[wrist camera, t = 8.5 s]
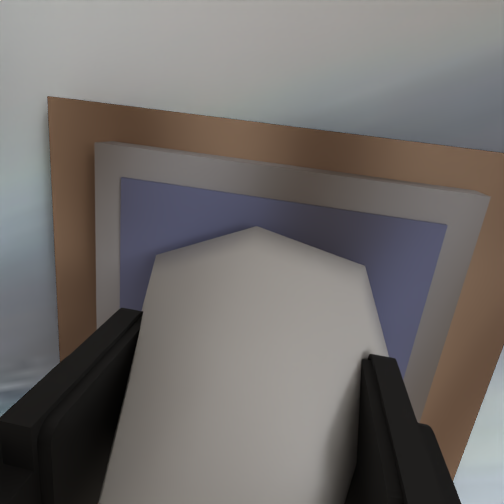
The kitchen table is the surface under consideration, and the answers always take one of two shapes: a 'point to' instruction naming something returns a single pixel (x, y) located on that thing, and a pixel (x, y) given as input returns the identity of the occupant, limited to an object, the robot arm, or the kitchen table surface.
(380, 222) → the board
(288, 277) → the flask
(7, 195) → the kitchen table surface
